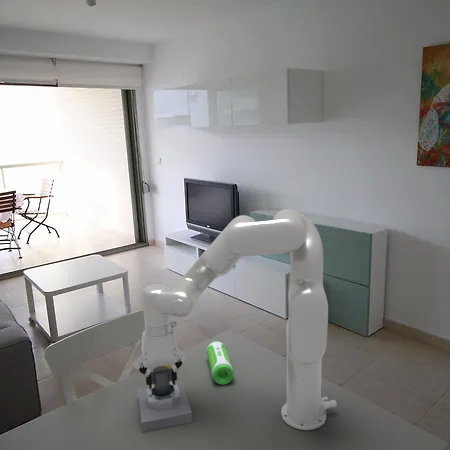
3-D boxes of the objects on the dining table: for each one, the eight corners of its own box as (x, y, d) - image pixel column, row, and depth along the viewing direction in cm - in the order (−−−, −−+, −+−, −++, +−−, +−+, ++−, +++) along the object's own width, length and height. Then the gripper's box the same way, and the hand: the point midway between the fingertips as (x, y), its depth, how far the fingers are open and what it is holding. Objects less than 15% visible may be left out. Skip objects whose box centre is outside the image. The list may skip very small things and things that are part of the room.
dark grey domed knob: (171, 385, 128) (170, 364, 127) (174, 394, 124) (172, 372, 122) (151, 389, 127) (149, 367, 125) (152, 398, 122) (150, 376, 121)
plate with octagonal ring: (183, 389, 136) (182, 381, 135) (192, 422, 121) (191, 412, 120) (138, 398, 132) (137, 389, 132) (142, 432, 117) (141, 422, 116)
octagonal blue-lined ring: (176, 389, 131) (175, 379, 130) (181, 406, 123) (180, 396, 122) (146, 394, 129) (146, 384, 128) (149, 413, 120) (148, 402, 120)
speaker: (206, 359, 154) (205, 340, 152) (225, 357, 155) (225, 338, 153) (212, 387, 137) (211, 366, 135) (234, 384, 138) (234, 363, 136)
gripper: (186, 318, 126) (188, 372, 130) (126, 326, 122) (131, 382, 126) (190, 329, 119) (193, 386, 123) (127, 338, 115) (132, 397, 119)
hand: (161, 383), depth 125 cm, fingers closed on dark grey domed knob, 6 cm apart
